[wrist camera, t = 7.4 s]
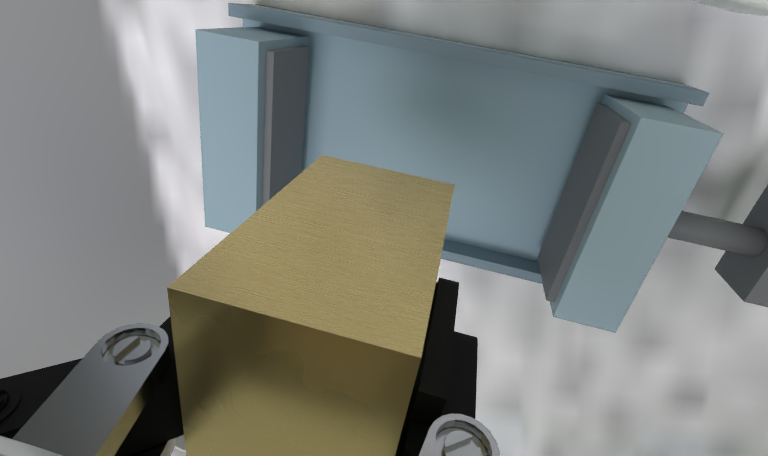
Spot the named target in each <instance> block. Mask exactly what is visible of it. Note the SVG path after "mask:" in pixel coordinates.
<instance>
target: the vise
mask: <svg viewBox="0 0 768 456" xmlns="http://www.w3.org/2000/svg"><path fill="white" fill-rule="evenodd" d="M228 5H229V16H233V17H238V18H243V27H242V28H219V29H196V50H197V70H198V90H199V111H200V131H201V151H202V171H203V191H204V212H205V227H209V228H213V229H217V230H221V231H225V232H229V233H232V232H233V231H234V230H235V229H236V228H237V227H239V226H240V225H241V224H242V223H243V222H244V221H246V220H247V219H248V218H249V217H250V216H251V215H253V214H254V213H255V212H256V211H257V210H258V209H260V208H261V207H262V206H263V205H264V204H265V203H267V202H268V201H269V200H270V199H271V198H272V197H274V196H275V195H276V194H277V193H278V192H279V191H281V190H282V189H283V188H284V187H285V186H286V185H288V184H289V183H290V182H291V181H292V180H293V179H295V178H296V177H297V176H298V175H299V174H300V173H302V172H303V171H304V170H305V169H306V168H307V167H309V166H310V165H311V164H312V163H313V162H314V161H316V160H317V159H318V158H319V157H320V156H321V155H326V156H330V157H335V158H339V159H344V160H348V161H353V162H357V163H361V164H366V165H370V166H375V167H379V168H384V169H388V170H392V171H397V172H401V173H406V174H410V175H415V176H419V177H423V178H428V179H432V180H437V181H441V182H446V183H450V184H454V185H455V187H454V192H453V197H452V202H451V208H450V213H449V218H448V223H447V228H446V233H445V238H444V244H443V249H442V254H441V259H445V260H449V261H453V262H457V263H461V264H465V265H469V266H473V267H477V268H481V269H485V270H489V271H493V272H497V273H501V274H505V275H509V276H513V277H517V278H521V279H525V280H529V281H533V282H537V283H541V284H543V282H542V277H541V272H540V268H539V263H538V258H537V257H538V255H539V252H540V249H541V247H542V244H543V242H544V239H545V236H546V234H547V231H548V229H549V226H550V223H551V221H552V218H553V216H554V213H555V210H556V208H557V205H558V203H559V200H560V198H561V195H562V192H563V190H564V187H565V185H566V182H567V179H568V177H569V174H570V172H571V169H572V166H573V164H574V161H575V159H576V156H577V154H578V151H579V148H580V146H581V143H582V141H583V138H584V135H585V133H586V130H587V128H588V125H589V122H590V120H591V117H592V115H593V112H594V109H595V107H596V104H597V103H602V101H603V98H604V96H605V94H608V95H614V96H619V97H624V98H629V99H634V100H640V101H645V102H650V103H655V104H660V105H666V106H668V107H670V108H672V109H674V110H676V111H679V112H681V113H684V111H685V109H686V107H687V105H688V103H689V104H694V105H699V106H703V105H704V103H705V101H706V99H707V97H708V95H709V93H708V92H705V91H702V90H699V89H696V88H693V87H690V86H687V85H684V84H680V83H675V82H669V81H664V80H659V79H653V78H648V77H643V76H637V75H632V74H626V73H621V72H616V71H610V70H605V69H600V68H594V67H589V66H583V65H578V64H573V63H567V62H562V61H556V60H551V59H546V58H540V57H535V56H530V55H524V54H519V53H513V52H508V51H503V50H497V49H492V48H486V47H481V46H476V45H470V44H465V43H460V42H454V41H449V40H443V39H438V38H433V37H427V36H422V35H416V34H411V33H406V32H400V31H395V30H390V29H384V28H379V27H373V26H368V25H363V24H357V23H352V22H347V21H341V20H336V19H330V18H325V17H320V16H314V15H309V14H303V13H298V12H293V11H287V10H282V9H277V8H271V7H266V6H260V5H253V4H234V3H228Z"/></svg>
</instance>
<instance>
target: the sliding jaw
mask: <svg viewBox="0 0 768 456" xmlns="http://www.w3.org/2000/svg"><path fill="white" fill-rule="evenodd" d="M722 135H723V133H721V132H719V131H717V130H715V129H713V128H711V127H709V126H707V125H705V124H703V123H701V122H699V121H697V120H695V119H693V118H691V117H689V116H687V115H685V114H683V113H681V112H679V111H676V110H674V109H672V108H670V107H668V106H666V105H660V104H655V103H650V102H645V101H640V100H634V99H629V98H624V97H619V96H614V95H608V94H605V96H604V98H603V101H602V103H597V104H596V107H595V109H594V112H593V115H592V117H591V120H590V122H589V125H588V128H587V130H586V133H585V135H584V138H583V141H582V143H581V146H580V148H579V151H578V154H577V156H576V159H575V161H574V164H573V166H572V169H571V172H570V174H569V177H568V179H567V182H566V185H565V187H564V190H563V192H562V195H561V198H560V200H559V203H558V205H557V208H556V210H555V213H554V216H553V218H552V221H551V223H550V226H549V229H548V231H547V234H546V236H545V239H544V242H543V244H542V247H541V249H540V252H539V255H538V257H537V258H538V263H539V268H540V272H541V277H542V282H543V287H544V292H545V296H546V300H548V301H550V304H551V308H552V313H553V317H556V318H560V319H564V320H568V321H572V322H576V323H580V324H584V325H587V326H591V327H595V328H599V329H603V330H607V331H611V332H615V333H616V331H617V329H618V327H619V325H620V323H621V321H622V320H623V318H624V316H625V314H626V312H627V310H628V309H629V307H630V305H631V303H632V301H633V299H634V298H635V296H636V294H637V292H638V290H639V288H640V286H641V285H642V283H643V281H644V279H645V277H646V275H647V274H648V272H649V270H650V268H651V266H652V264H653V263H654V261H655V259H656V257H657V255H658V253H659V251H660V250H661V248H662V246H663V244H664V242H665V240H666V239H667V237H669V238H673V239H677V240H682V241H686V242H691V243H695V244H699V245H704V246H708V247H713V248H717V249H721V250H726V252H725V253H724V255H723V256H722V258H721V260H720V261H719V263H718V264H717V266H716V268H715V270H716V271H717V272H718V273H719V274H720V275H721V277H722V278H723V279H724V280H725V281H726V282H727V283H728V284H729V285H730V287H731V288H732V289H733V290H734V291H735V292H736V293H737V294H738V295H739V297H740V298H741V299H742V300H743V301H744V302H748V303H753V304H757V305H761V306H765V307H768V185H767V187H766V188H765V190H764V191H763V193H762V194H761V196H760V198H759V199H758V201H757V202H756V204H755V206H754V207H753V209H752V210H751V212H750V214H749V215H748V217H747V218H746V220H745V221H744V223H743V224H739V223H734V222H729V221H725V220H720V219H716V218H711V217H707V216H702V215H698V214H693V213H689V212H684V211H682V209H683V207H684V205H685V204H686V202H687V200H688V198H689V196H690V194H691V193H692V191H693V189H694V187H695V185H696V183H697V181H698V180H699V178H700V176H701V174H702V172H703V170H704V169H705V167H706V165H707V163H708V161H709V159H710V158H711V156H712V154H713V152H714V150H715V148H716V146H717V145H718V143H719V141H720V139H721V137H722Z"/></svg>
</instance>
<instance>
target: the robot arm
mask: <svg viewBox="0 0 768 456" xmlns="http://www.w3.org/2000/svg"><path fill="white" fill-rule="evenodd" d="M458 289H459V283H458V282H454V281H451V280H447V279H443V278H439V280H438V283H437V282H436V285H435V290H434V295H433V300H432V305H431V310H430V316H429V321H428V326H427V331H426V336H425V341H424V346H423V352H422V357H421V361H420V365H419V368H418V372H417V376H416V379H415V383H414V387H413V391H412V394H411V398H410V402H409V405H408V409H407V413H406V417H405V420H404V424H403V428H402V431H401V435H400V439H399V443H398V446H397V450H396V454H395V456H500V451H499V448H498V445H497V442H496V440H495V438H494V437H493V435H492V434H491V432H490V431H489V430H488V429H487V428H486V427H485V426H484V425H483V424H482V423H480V422H479V421H477V420H475V409H476V378H477V346H478V341H477V337H473V336H470V335H466V334H462V333H458V332H455V331H454V325H455V316H456V307H457V298H458ZM182 435H184V431H183V422H182V413H181V404H180V395H179V387H178V378H177V369H176V360H175V351H174V342H173V334H172V325H171V316H170V317H169V318H168V319H167V320H166V321H165V322H164V323H163V324H162V325H161V326H160V327H159V326H156V325H153V324H148V323H147V324H146V323H136V324H130V325H125V326H122V327H119V328H116V329H115V330H112V331H111V332H109V333H107V334H105V335H104V336H103V337H102V338H101V339H100V340H99V341H98V342H97V343H96V344H95V345H94V346H93V347H92V348H91V349H90V351H89V352H88V353H87V354H86V355H85V357H83V358H82V359H78V360H74V361H70V362H66V363H62V364H58V365H54V366H50V367H46V368H42V369H38V370H34V371H30V372H26V373H22V374H19V375H14V376H11V377H7V378H2V379H0V456H171V454H172V452H173V450H174V448H175V446H176V443H177V440H178V437H179V436H182Z"/></svg>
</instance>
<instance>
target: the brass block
mask: <svg viewBox="0 0 768 456" xmlns="http://www.w3.org/2000/svg"><path fill="white" fill-rule="evenodd" d="M454 187H455V185H454V184H450V183H446V182H441V181H437V180H432V179H428V178H423V177H419V176H415V175H410V174H406V173H401V172H397V171H392V170H388V169H384V168H379V167H375V166H370V165H366V164H361V163H357V162H353V161H348V160H344V159H339V158H335V157H330V156H326V155H321V156H320V157H319V158H318V159H317V160H316V161H314V162H313V163H312V164H311V165H310V166H309V167H307V168H306V169H305V170H304V171H303V172H302V173H300V174H299V175H298V176H297V177H296V178H295V179H293V180H292V181H291V182H290V183H289V184H288V185H286V186H285V187H284V188H283V189H282V190H281V191H279V192H278V193H277V194H276V195H275V196H274V197H272V198H271V199H270V200H269V201H268V202H267V203H265V204H264V205H263V206H262V207H261V208H260V209H258V210H257V211H256V212H255V213H254V214H253V215H251V216H250V217H249V218H248V219H247V220H246V221H244V222H243V223H242V224H241V225H240V226H239V227H237V228H236V229H235V230H234V231H233V232H232V233H230V234H229V235H228V236H227V237H226V238H225V239H223V240H222V241H221V242H220V243H219V244H218V245H216V246H215V247H214V248H213V249H212V250H211V251H209V252H208V253H207V254H206V255H205V256H204V257H202V258H201V259H200V260H199V261H198V262H197V263H195V264H194V265H193V266H192V267H191V268H190V269H188V270H187V271H186V272H185V273H184V274H183V275H181V276H180V277H179V278H178V279H177V280H176V281H174V282H173V283H172V284H171V285H170V286H169V287H168V288H167V289H168V298H169V307H170V316H171V325H172V334H173V342H174V351H175V360H176V369H177V378H178V387H179V395H180V404H181V413H182V422H183V431H184V440H185V448H186V456H395V454H396V450H397V446H398V443H399V439H400V435H401V431H402V428H403V424H404V420H405V417H406V413H407V409H408V405H409V402H410V398H411V394H412V391H413V387H414V383H415V379H416V376H417V372H418V368H419V365H420V361H421V357H422V352H423V346H424V341H425V336H426V331H427V326H428V321H429V316H430V310H431V305H432V300H433V295H434V290H435V285H436V280H437V274H438V269H439V264H440V259H441V254H442V249H443V244H444V238H445V233H446V228H447V223H448V218H449V213H450V208H451V202H452V197H453V192H454Z"/></svg>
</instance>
